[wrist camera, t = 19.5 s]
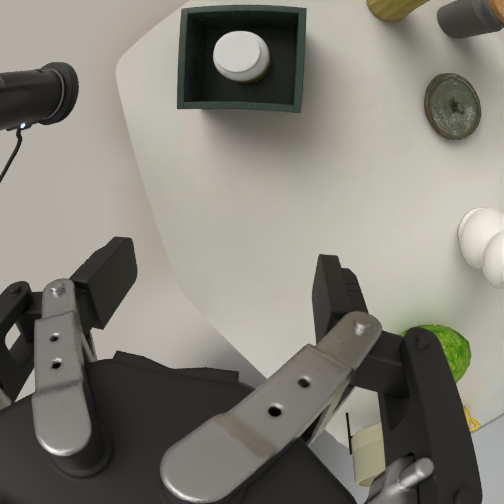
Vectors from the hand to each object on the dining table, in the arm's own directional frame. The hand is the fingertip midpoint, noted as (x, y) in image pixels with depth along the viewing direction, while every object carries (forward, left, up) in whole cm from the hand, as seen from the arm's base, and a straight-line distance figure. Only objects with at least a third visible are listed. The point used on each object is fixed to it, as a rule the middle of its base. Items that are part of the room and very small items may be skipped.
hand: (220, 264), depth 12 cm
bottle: (+38, +4, -32) cm, 50 cm away
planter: (-10, -72, -32) cm, 80 cm away
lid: (+29, -8, -32) cm, 44 cm away
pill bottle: (+5, +11, -32) cm, 34 cm away
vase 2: (+26, -30, -32) cm, 51 cm away
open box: (+5, +11, -32) cm, 34 cm away
